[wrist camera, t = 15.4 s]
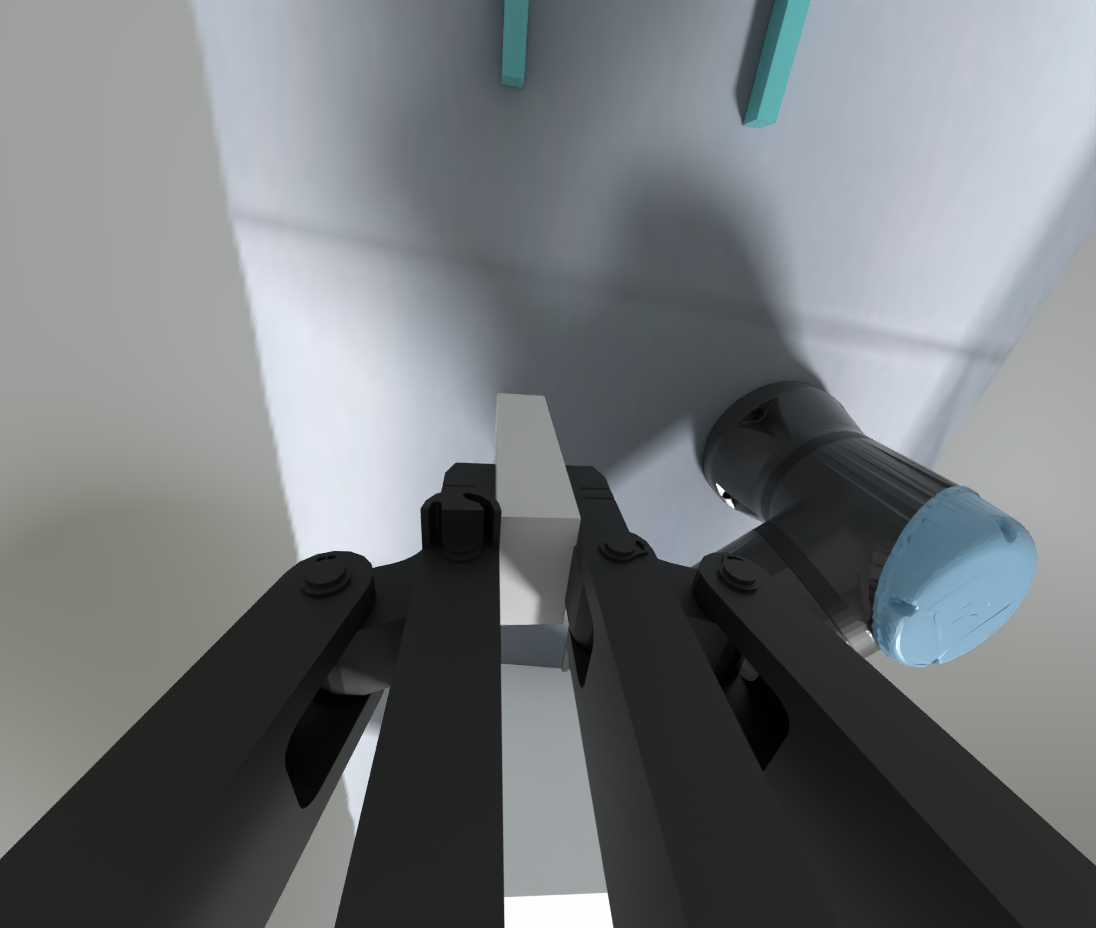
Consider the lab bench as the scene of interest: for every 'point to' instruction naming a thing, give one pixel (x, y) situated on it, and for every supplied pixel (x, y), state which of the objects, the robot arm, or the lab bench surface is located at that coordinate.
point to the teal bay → (768, 77)
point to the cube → (547, 807)
